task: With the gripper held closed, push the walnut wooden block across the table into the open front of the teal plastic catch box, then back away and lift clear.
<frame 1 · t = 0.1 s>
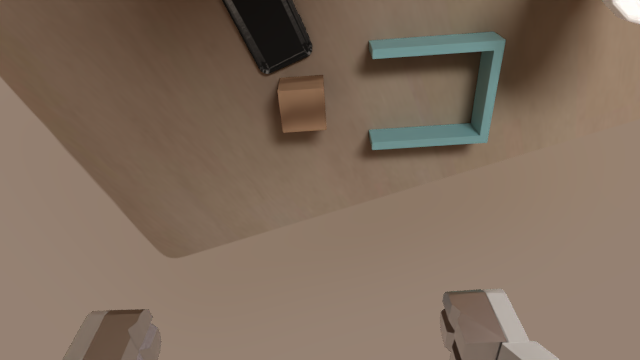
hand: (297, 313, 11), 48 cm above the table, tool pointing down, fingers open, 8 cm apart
phone: (263, 8, 53), on the table
walnut block: (303, 96, 59), on the table
catch box: (422, 88, 58), on the table
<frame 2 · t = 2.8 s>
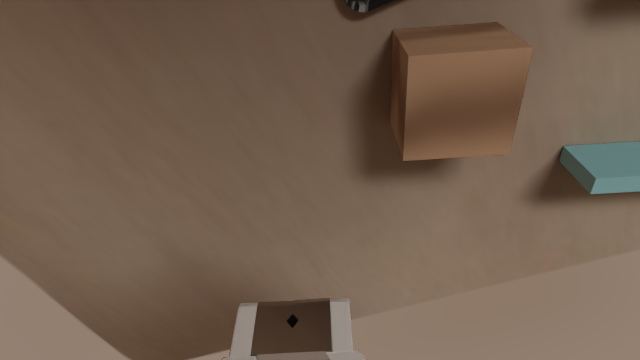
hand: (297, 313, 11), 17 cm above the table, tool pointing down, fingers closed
walnut block: (439, 75, 26), on the table
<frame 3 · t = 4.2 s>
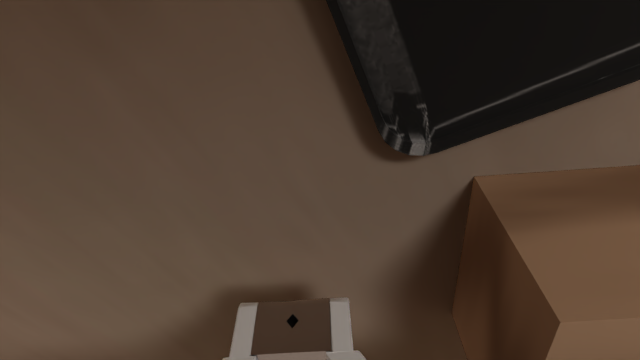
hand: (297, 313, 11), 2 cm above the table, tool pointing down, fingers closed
walnut block: (553, 244, 13), on the table
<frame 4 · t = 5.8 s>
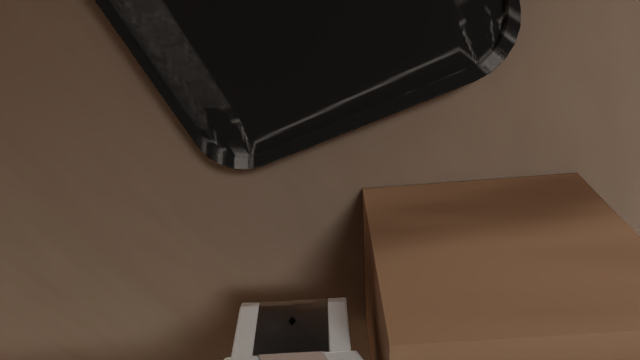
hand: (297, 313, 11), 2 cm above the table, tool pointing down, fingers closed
walnut block: (457, 257, 13), on the table, touching gripper
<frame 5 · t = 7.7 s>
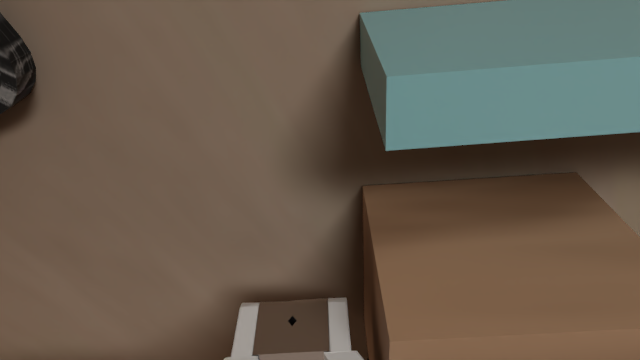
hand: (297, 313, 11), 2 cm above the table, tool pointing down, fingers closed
walnut block: (456, 255, 13), on the table, touching gripper
catch box: (607, 234, 13), on the table
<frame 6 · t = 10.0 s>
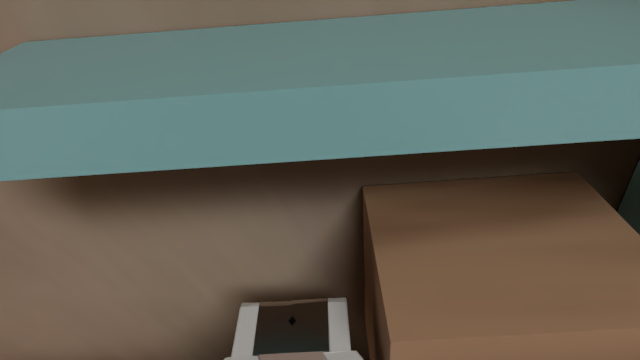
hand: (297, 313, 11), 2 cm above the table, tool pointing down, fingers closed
walnut block: (456, 255, 13), on the table, touching gripper
catch box: (363, 253, 13), on the table
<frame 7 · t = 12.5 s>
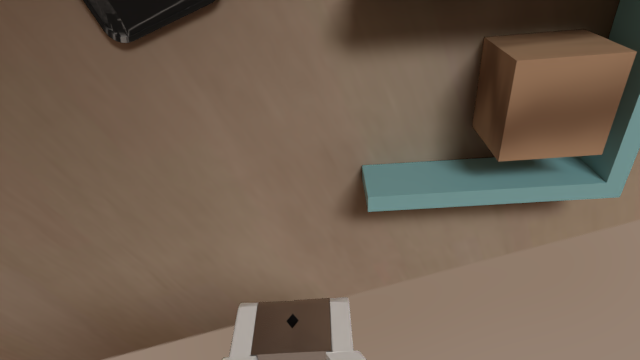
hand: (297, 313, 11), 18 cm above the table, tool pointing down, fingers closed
walnut block: (523, 80, 27), on the table
catch box: (478, 78, 27), on the table
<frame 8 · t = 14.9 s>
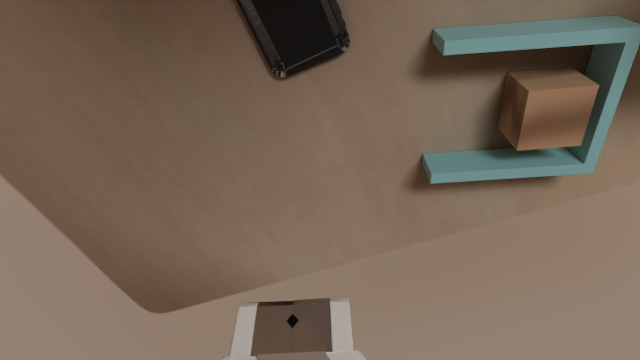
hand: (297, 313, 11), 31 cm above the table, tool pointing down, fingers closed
walnut block: (531, 97, 41), on the table
catch box: (503, 97, 41), on the table
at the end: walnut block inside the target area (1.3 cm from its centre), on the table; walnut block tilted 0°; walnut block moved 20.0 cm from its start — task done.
